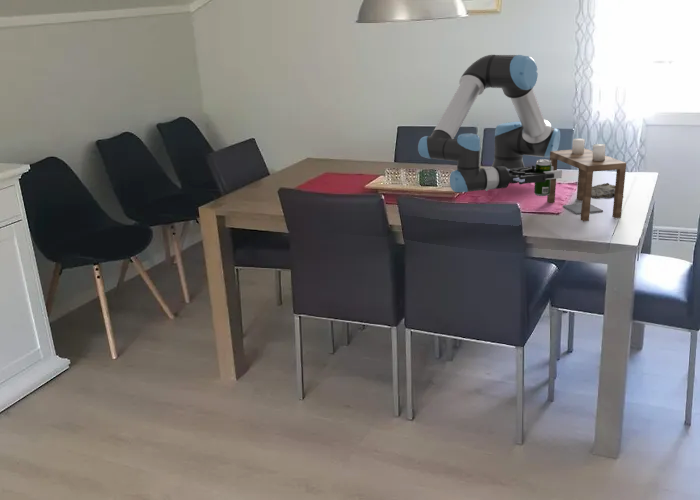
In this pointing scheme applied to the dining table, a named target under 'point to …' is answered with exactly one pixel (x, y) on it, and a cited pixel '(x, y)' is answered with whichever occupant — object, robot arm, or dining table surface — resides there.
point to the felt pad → (577, 208)
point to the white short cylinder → (578, 146)
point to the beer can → (544, 187)
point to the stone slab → (603, 191)
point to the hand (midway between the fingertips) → (556, 172)
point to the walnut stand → (589, 178)
